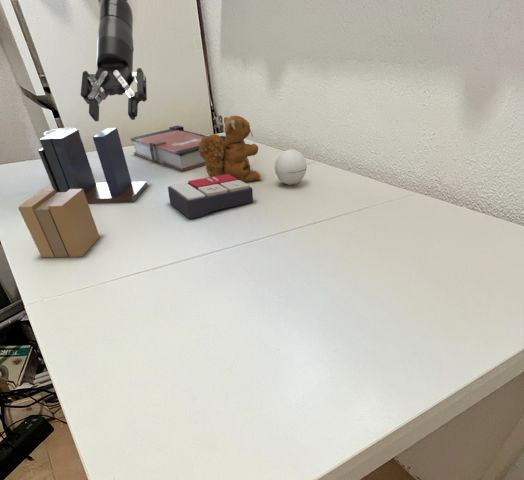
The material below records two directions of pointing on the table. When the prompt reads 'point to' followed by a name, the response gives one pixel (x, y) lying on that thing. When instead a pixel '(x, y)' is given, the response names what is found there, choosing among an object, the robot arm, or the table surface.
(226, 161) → the stuffed squirrel
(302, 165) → the seamed sphere
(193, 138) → the book
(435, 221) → the table surface
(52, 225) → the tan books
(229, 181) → the grey and red device
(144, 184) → the book stand
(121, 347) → the table surface
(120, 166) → the navy book
